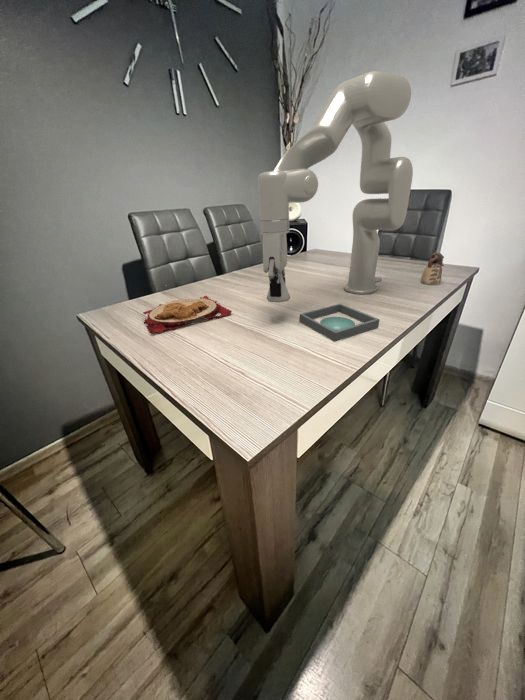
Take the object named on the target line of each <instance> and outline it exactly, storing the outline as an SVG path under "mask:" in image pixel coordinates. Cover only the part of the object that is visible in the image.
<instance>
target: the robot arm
mask: <svg viewBox="0 0 525 700" xmlns="http://www.w3.org/2000/svg"><path fill="white" fill-rule="evenodd" d="M411 97H412V88H411V84H410V82H409V80H408V78H407V77H405V76H404V75H401V74H396V73H390V72H387V71H386V72H385V71H381V70H380V71H379V70H372V71H368V72H366V73H363V74H361V75H360V74H359V75H358V76H355V77H353V78H351V79H348V80H345V81H343V82H340V84H338V85H337V87H336V88H334V90H333V91H332V92H331V94H330V96H329V98H328V99H327V101H326V102H325V104H324V106H323V108H322V109H321V111H320V112H319V113H318V116H317V117H316V119H315V121H314V123H313V124H312V125H311V127H310V128H309V129H308V131H306V132H305V133H304V134H303V135H302V136H301V137H300V138H299V139H297V141H296V142H295V143H294V144H292V145H291V146H290V148H288V149H287V150H286V152H284V154H283V155H282V156H281V158H280V159H279V161H278V162H277V164H276V166H275V167H274V169H273V170H271V171H263V172H261V173H260V174H258V176H257V190H258V201H259V202H258V206H259V219H260V232H261V233H260V234H261V235H262V266H263V267H262V269H263V272H264V274H266V273H267V274H268V275H267V276H268V280H269V281H268V282H269V288H270V296H271V297H281V283H280V272H281V271H282V276H283V280H284V282H285V283H286V271H285V267H286V266H287V264H288V242H287V234H288V233H290V203H291V204H292V203H294V204H296V203H297V204H299V203H300V204H301V203H305V202H309V201H311V199H313V198H314V197H315V195H316V193H317V192H318V189H319V180H318V177H317V175H316V174H315V172H314V171H313V170H311V169H309V168H311V167H313V166H314V165H316V164H318V163H320V162H323V161H325V160H326V159H327V158H329V157H330V156H331V155H333V154H335V152H336V151H337V150H338V148H339V146H340V144H341V143H342V140H343V139H344V138H345V136H346V134H347V132H348V131H349V129H350V128H351V126H353V127H354V128H355V130H356V132H357V133H358V135H359V138H360V141H361V158H360V160H361V161H360V171H359V172H360V175H359V188H360V191H361V192H362V193H363V194H364V195H365V194H366V195H381V194H382V195H383V194H384V195H387V194H388V198H385V197H384V198H381V197H380V198H365V199H363V200H361V201H359V202H358V203H356V205H355V206H354V208H353V210H352V231H353V232H352V233H353V235H352V245H351V256H350V264H349V272H348V283H346V284H344V285H343V290H344V292H347V293H350V294H357V295H368V294H373V293H376V292H377V291H378V286H377V285H376V284H377V283H380V282H382V281H383V277H381V276H378V277H376V269H377V265H378V259H379V258H378V257H379V253H380V252H379V251H380V245H381V240H380V235H379V232H378V231H377V230H379V231H395V230H398V229H400V228H401V227H402V226H403V224H404V222H405V220H406V217H407V213H408V207H409V201H410V194H411V189H412V182H413V174H414V173H413V172H414V171H413V170H414V169H413V168H414V167H413V163H412V161H411V159H410V158H409V157H405V156H396V157H391V152H392V151H391V150H392V134H391V131H390V129H389V127H388V125H387V124H386V123H387V122H390V121H395V120H397V119H399V118H401V117H402V116H403V115H404V114H405V112H406V111H407V110H408V107H409V105H410V102H411ZM274 270H277V271H278V272H274ZM274 274H277V277H276V276H275V275H274Z"/></svg>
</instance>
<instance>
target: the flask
mask: <svg viewBox="0 0 525 700" xmlns="http://www.w3.org/2000/svg"><path fill="white" fill-rule="evenodd" d="M274 272H278V271H277V270H274ZM274 275H275V276H276V277H277V274H274ZM280 283H281V297H271V296H270V287H269V289H268V293H267V295H266V299H265V300H266V301H268V302H269V303H278V304H279V303H283V302H289V300H290V299H291V295H290V293H289V290H288V287H287V286H286V281H285V282H284V280H283V276H282V271H281V272H280Z"/></svg>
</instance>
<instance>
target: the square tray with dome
mask: <svg viewBox="0 0 525 700" xmlns="http://www.w3.org/2000/svg"><path fill="white" fill-rule="evenodd" d="M337 313H341V314H343V315H345V316H348V317H349V318H348V317H345V316H344V317H343V316H329V315H333V314H337ZM325 316H328V317H325ZM321 317H325V318H323V319H321V320H320V321H317V320H315V319H319V318H321ZM351 318H352V319H354V320H357V321H359V322H360V323H359V324H356V323H355V321H354V320H352V319H351ZM298 320H299V323H301V324H302V325H304V326H306V327H308V328H310V329H312V330H313V331H315V332H317V333H319V334H320V335H322V336H324V337H325V338H327V339H329V340H331V341H332V342H339V341H341V340H345V339H347V338H350V337H353V336H357V335H360V334H362V333H366V332H368V331H372V330H375V329H377V328H379V325H380V318H377V317H375V316H373V315H370V314H368V313H365V312H362V311H361V310H358V309H356V308H355V309H354V308H352V307H350V306H348V305H344V304H342V303H336V304H333V305H329V306H325V307H322V308H318V309H313V310H310V311H306V312H303V313H299V319H298Z"/></svg>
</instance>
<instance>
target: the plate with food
mask: <svg viewBox="0 0 525 700" xmlns="http://www.w3.org/2000/svg"><path fill="white" fill-rule="evenodd" d="M217 301H218V300H212V299H211V298H209V296H208V295H204V296H202V297H201V296H200V299H199V298H185V299H182V300H181V299H180V300H173V301H169V302H165V303H163V304H159V305H158V306H157V307H155V308H153V309H149V310H146V311H144V312H142V313H143V314H142V315H147V318H144V321H143V323H144V324H147V325H146V329H148V331H149V332H150V334H153V333H156V334H157V333H162V332H163V331H167V330H171V331H175V330H176V329H178V328H181V327H185V326H189V325H196V323H195V322H193V323H192V322H190V321H192V320H195V319H200V318H202V321H201V323H203V322H210V321H215V320H217V319H218V318H221V317H224V316H228V315H230V314H231V313H232V312H233V311H232V310H230V309H229V308H227V307H225V306H222V305H221V304H220V303H217ZM217 314H220V315H217ZM187 322H189V323H187Z"/></svg>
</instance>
